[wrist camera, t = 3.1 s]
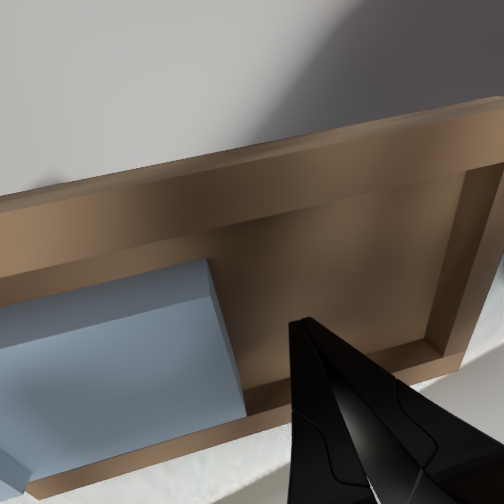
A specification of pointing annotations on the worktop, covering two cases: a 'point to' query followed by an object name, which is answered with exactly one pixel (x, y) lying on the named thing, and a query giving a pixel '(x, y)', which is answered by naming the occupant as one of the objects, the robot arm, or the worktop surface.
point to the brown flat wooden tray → (288, 250)
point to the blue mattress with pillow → (112, 371)
